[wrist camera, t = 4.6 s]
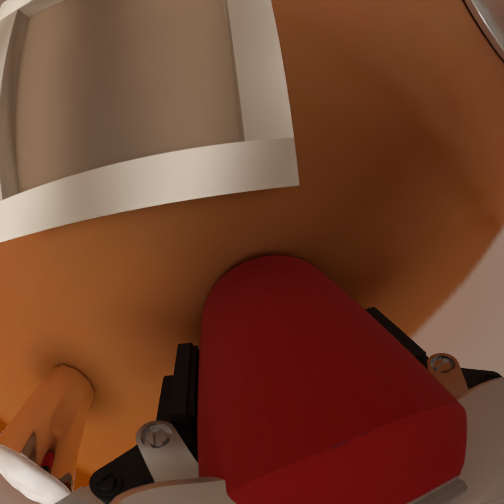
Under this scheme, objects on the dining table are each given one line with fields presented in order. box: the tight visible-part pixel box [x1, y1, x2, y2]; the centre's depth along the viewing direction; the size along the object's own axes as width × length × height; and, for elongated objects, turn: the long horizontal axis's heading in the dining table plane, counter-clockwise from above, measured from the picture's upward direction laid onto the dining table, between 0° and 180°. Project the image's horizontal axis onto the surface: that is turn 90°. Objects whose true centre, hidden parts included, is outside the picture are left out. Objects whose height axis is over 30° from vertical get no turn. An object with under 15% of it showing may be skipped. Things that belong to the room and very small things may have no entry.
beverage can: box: [197, 255, 468, 504], centre depth 8 cm, size 7×7×12 cm
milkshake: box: [0, 365, 94, 504], centre depth 9 cm, size 5×5×10 cm
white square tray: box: [0, 0, 299, 242], centre depth 8 cm, size 12×12×4 cm
